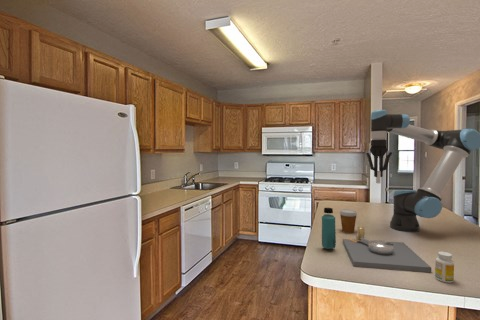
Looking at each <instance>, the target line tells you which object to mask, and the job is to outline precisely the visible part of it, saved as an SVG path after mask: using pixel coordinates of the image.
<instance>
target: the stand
mask: <svg viewBox="0 0 480 320" xmlns="http://www.w3.org/2000/svg"><path fill="white" fill-rule="evenodd" d="M385 241H386V240H385ZM386 242H389V243H392V244H393V245H394V253H393V254H391V255H381V254H376V253H373V252H371V251H370V250H369V249H368V245H367V244H365V243H363V242H360V241H358V240H356V238H355V239H353V238H352V239H351V238H342V245H343V247H344V249H345V252H346V253H347V255H348V257H349V259H350V262H351V264H352V266H353V267H358V268H359V267H360V268H372V269H379V270H380V269H381V270H383V269H385V270H393V271H406V272H418V273H419V272H420V273H432V267H431V266H430V265H429V264H428V263H427V262H426V261H425V260H424V259H422V257H420V256H419V255H418V254H417V253H416V252H415V251H414V250H413V249H411V248H410V247H409V246H408V245H407V244H406V243H405V242H403V241H402V242H401V241H386Z"/></svg>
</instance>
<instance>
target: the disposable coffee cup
mask: <svg viewBox="0 0 480 320" xmlns="http://www.w3.org/2000/svg"><path fill="white" fill-rule="evenodd" d="M339 215H340V222H341V223H340V224H341V230H342V232H343V233H346V234H354V233H355V228H356V227H355V226H356V222H357V221H356V220H357V215H358V212H357V211H356V210H354V209H347V208H346V209H340V210H339Z"/></svg>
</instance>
